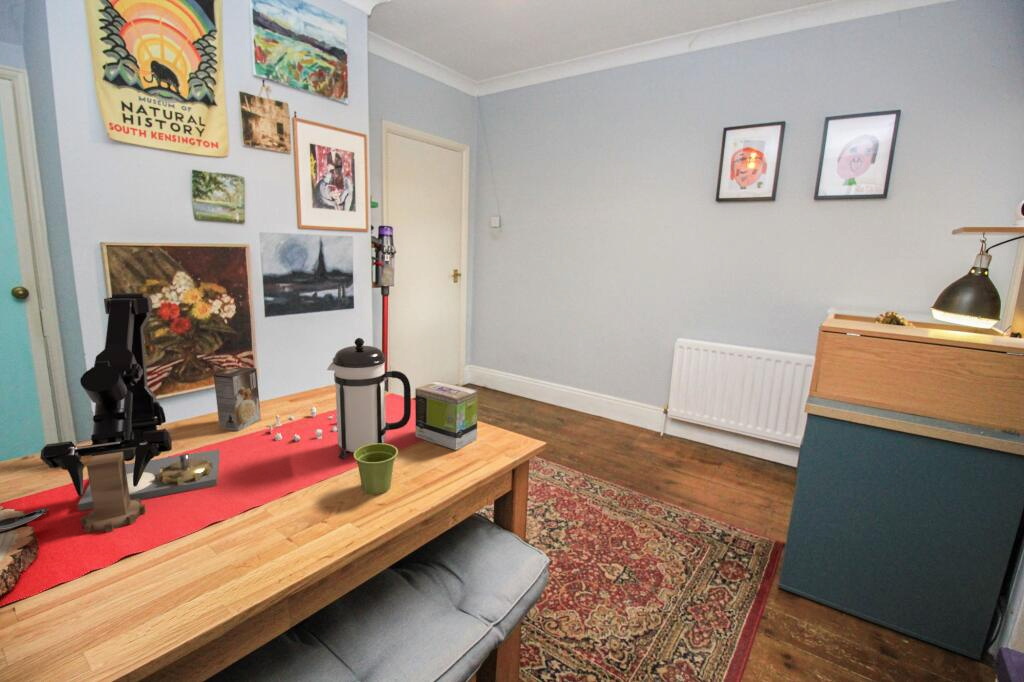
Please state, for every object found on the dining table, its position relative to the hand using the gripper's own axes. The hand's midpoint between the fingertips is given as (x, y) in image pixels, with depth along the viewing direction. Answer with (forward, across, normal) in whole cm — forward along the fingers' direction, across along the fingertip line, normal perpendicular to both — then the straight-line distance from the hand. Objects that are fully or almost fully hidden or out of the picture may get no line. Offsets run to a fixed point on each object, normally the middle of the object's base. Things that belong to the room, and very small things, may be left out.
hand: (108, 490), depth 87 cm
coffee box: (-26, -21, -35) cm, 48 cm away
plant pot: (+11, -48, +1) cm, 49 cm away
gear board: (-6, -5, -16) cm, 17 cm away
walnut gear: (+4, 0, -6) cm, 7 cm away
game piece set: (-18, -37, -28) cm, 50 cm away
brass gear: (-5, -11, -12) cm, 17 cm away
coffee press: (-4, -50, -14) cm, 52 cm away
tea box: (-2, -72, -12) cm, 72 cm away
